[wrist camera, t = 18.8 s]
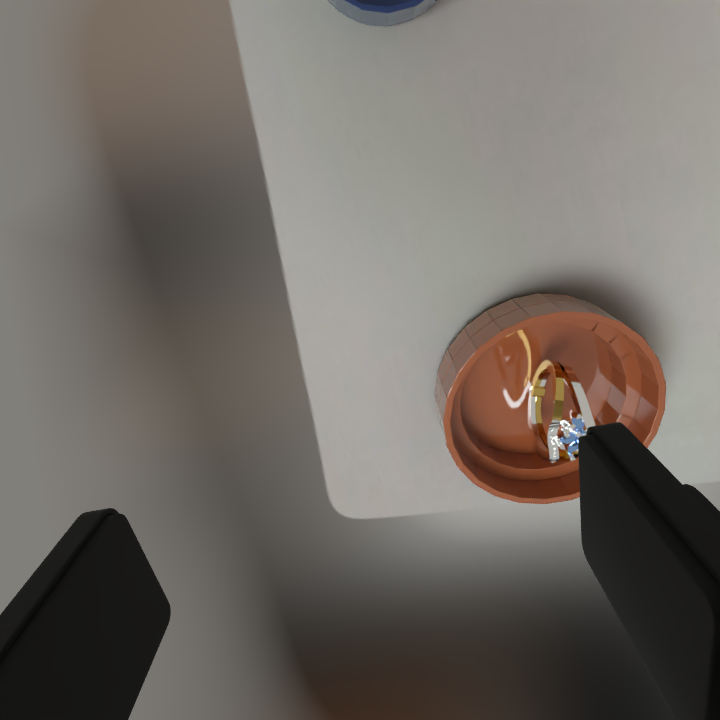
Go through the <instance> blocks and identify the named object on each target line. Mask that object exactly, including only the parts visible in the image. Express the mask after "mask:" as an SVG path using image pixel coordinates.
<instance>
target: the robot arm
mask: <svg viewBox="0 0 720 720" xmlns="http://www.w3.org/2000/svg"><path fill="white" fill-rule="evenodd" d="M578 458H579V484H580V510H581V532H582V533H581V535H582V546H583V550H584V554H585V556H586V559H587V561H588V563H589V565H590V567H591V568H592V570H593V572H594V574H595V576H596V578H597V579H598V581H599V583H600V584H601V587H602V588H603V590H604V592H605V593H606V595H607V597H608V599H609V601H610V603H611V605H612V606H613V608H614V610H615V612H616V614H617V616H618V617H619V619H620V621H621V623H622V625H623V626H624V628H625V630H626V632H627V634H628V635H629V637H630V639H631V641H632V643H633V644H634V646H635V648H636V650H637V652H638V654H639V655H640V657H641V659H642V661H643V663H644V664H645V666H646V668H647V670H648V672H649V673H650V675H651V677H652V679H653V681H654V682H655V684H656V686H657V688H658V690H659V691H660V693H661V695H662V697H663V699H664V700H665V702H666V704H667V706H668V708H669V709H670V711H671V713H672V715H673V717H674V719H675V720H720V511H719V510H717V508H716V507H715V506H713V504H712V503H711V502H710V501H708V499H707V498H706V497H705V496H704V495H703V494H701V493H700V492H699V491H698V490H697V489H696V488H694V487H693V486H690V485H688V484H684V485H682V484H681V483H680V482H679V481H678V480H677V479H676V478H675V477H674V476H673V475H672V474H671V473H670V471H669V470H668V469H667V468H666V467H665V466H664V465H663V464H662V463H661V462H660V461H659V460H658V459H657V458H656V457H655V456H654V455H653V454H652V453H651V452H650V451H649V450H648V449H647V448H646V447H645V446H644V445H643V444H642V443H641V442H640V441H639V440H638V439H637V438H636V437H635V435H634V434H633V433H632V432H631V431H630V430H629V429H628V428H627V427H626V426H625V425H624V424H622V423H621V422H615V423H610V424H604V425H598V426H592V427H589V428H588V429H587V432H586V435H585V436H580V437H579V439H578ZM170 614H171V613H170V604H169V602H168V600H167V598H166V596H165V594H164V592H163V590H162V588H161V586H160V584H159V582H158V580H157V578H156V576H155V574H154V572H153V570H152V568H151V566H150V564H149V562H148V560H147V558H146V556H145V554H144V552H143V550H142V549H141V546H140V544H139V542H138V540H137V538H136V536H135V534H134V532H133V530H132V528H131V526H130V524H129V522H128V520H127V518H126V517H125V516H124V515H123V514H119V513H118V512H117V511H116V510H115V509H112V508H108V509H102V510H96V511H91V512H86V513H83V514H81V515H80V516H79V517H78V518H77V520H76V521H75V522H74V523H73V524H72V526H71V527H70V528H69V530H68V531H67V532H66V533H65V534H64V536H63V537H62V538H61V540H60V541H59V542H58V543H57V545H56V546H55V547H54V548H53V550H52V551H51V552H50V553H49V555H48V556H47V557H46V558H45V559H44V561H43V562H42V563H41V565H40V566H39V567H38V568H37V570H36V571H35V572H34V573H33V575H32V576H31V577H30V578H29V580H28V581H27V582H26V583H25V585H24V586H23V587H22V588H21V590H20V591H19V592H18V593H17V595H16V596H15V597H14V598H13V600H12V601H11V602H10V603H9V605H8V606H7V607H6V608H5V610H4V611H3V612H2V613H1V615H0V720H128V718H129V716H130V714H131V711H132V709H133V707H134V704H135V702H136V699H137V697H138V695H139V692H140V690H141V687H142V685H143V683H144V681H145V678H146V676H147V673H148V671H149V669H150V666H151V664H152V661H153V659H154V656H155V654H156V652H157V650H158V647H159V645H160V642H161V640H162V638H163V635H164V633H165V631H166V628H167V626H168V623H169V620H170Z"/></svg>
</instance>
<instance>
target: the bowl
mask: <svg viewBox="0 0 720 720" xmlns="http://www.w3.org/2000/svg"><path fill="white" fill-rule="evenodd" d="M545 360H551V361H560V362H564V363H566V364H568V365H569V366H570V367H571V368H572V370H573V371H574V373H575V374H576V376H577V378H578V380H579V382H580V384H581V386H582V388H583V391H584V393H585V395H586V398H587V401H588V404H589V407H590V410H591V413H592V416H593V419H594V422H595V426H598V425H604V424H610V423H615V422H621V423H622V424H624V425H625V426H626V427H627V428H628V429H629V430H630V431H631V432H632V433H633V434H634V435H635V437H636V438H637V439H638V440H639V441H640V442H641V443H642V444H643V445H644V446H645V447H646V448H648V446H649V445H650V443H651V442H652V440H653V439H654V437H655V436H656V434H657V431H658V428H659V425H660V423H661V420H662V417H663V414H664V411H665V397H666V382H665V379H664V375H663V372H662V368H661V365H660V361H659V359H658V357H657V356H656V354H655V353H654V352H653V350H652V349H651V347H650V346H649V345H648V343H647V342H646V340H645V339H644V338H643V337H642V336H640V335H639V334H638V333H636V332H635V331H633V330H632V329H631V328H629V327H628V326H626V325H625V324H624V323H622V322H621V321H619V320H618V319H616V318H614V317H613V316H611V315H610V314H608V313H607V312H605V311H603V310H602V309H600V308H599V307H597V306H596V305H594V304H592V303H590V302H587V301H584V300H581V299H578V298H575V297H572V296H569V295H561V294H543V293H541V294H539V293H538V294H533V295H528V296H523V297H518V298H513V299H510V300H508V301H506V302H504V303H502V304H499V305H497V306H495V307H493V308H491V309H489V310H487V311H485V312H484V313H482V314H481V315H480V316H478V317H477V318H476V319H475V320H473V321H472V322H471V323H470V324H468V325H467V326H466V327H465V329H463V330H462V331H461V332H460V334H459V335H458V336H457V338H456V339H455V340H454V341H453V343H452V344H451V345H450V347H449V348H448V349H447V351H446V354H445V356H444V358H443V360H442V363H441V365H440V367H439V370H438V374H437V381H436V389H435V399H436V405H437V411H438V417H439V420H440V424H441V427H442V431H443V434H444V438H445V441H446V445H447V448H448V450H449V451H450V453H451V455H452V457H453V459H454V461H455V463H456V465H457V467H458V468H459V469H460V470H461V471H462V472H463V473H464V474H465V475H466V476H467V477H468V478H469V479H470V480H471V481H472V483H474V484H475V485H477V486H478V487H480V488H482V489H484V490H485V491H487V492H489V493H491V494H492V495H494V496H497V497H500V498H504V499H507V500H511V501H514V502H518V503H533V504H534V503H535V504H549V503H555V502H562V501H568V500H573V499H576V498H578V497H580V484H579V458H578V457H577V458H575V459H576V460H573V461H558V462H556V463H552V462H545V461H543V460H542V459H541V458H540V457H539V455H538V454H537V452H536V451H535V448H534V446H533V443H532V440H531V436H530V431H529V424H528V399H529V391H528V390H529V385H530V383H532V381H533V378H534V375H535V373H536V371H537V369H538V367H539V366H540V364H541V363H542V362H543V361H545ZM544 387H545V394H544V397H542V399H541V419H542V424H543V428H544V431H545V433H546V436H547V437H548V429H549V426H550V424H551V422H552V417H553V411H554V406H553V386H552V378H551V374H550V375H549V377H548V379H547V381H546V383H545V386H544ZM571 410H573V411H575V412H576V413H577V410H576V407H575V405H574V402H573V399H572V397H571V394H570V392H569V390H568V388H567V385H566V383H565V381H564V402H563V411H562V418H563V419H564V420H565V419H566V418H567V419H569V420H570V411H571ZM560 427H561V425H559V428H560ZM559 428H558V432H557V436H558V435H559V434H560V433H561V432H560V431H559ZM564 446H565V444H564ZM558 449H560V448H559V446H558Z"/></svg>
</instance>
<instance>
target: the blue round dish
mask: <svg viewBox="0 0 720 720" xmlns="http://www.w3.org/2000/svg"><path fill="white" fill-rule="evenodd" d="M328 1H329V3H330V4H332V5H333V6H334V7H335V8H336V9H337V10H338V11H339V12H341V13H343V14H344V15H346V16H347V17H349V18H351V19H353V20H355V21H357V22H360V23H364V24H367V25H374V26H390V25H396V24H400V23H403V22H406V21H409V20H412V19H413V18H415V17H417V16H419V15H420V14H421V13H423V12H424V11H426V10H427V9H428V8H430V7H431V6H433V4H435V2H436V1H437V0H328Z"/></svg>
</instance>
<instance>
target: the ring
mask: <svg viewBox="0 0 720 720" xmlns="http://www.w3.org/2000/svg"><path fill="white" fill-rule="evenodd" d="M550 374H551V378H552V386H553V406H554V411H553V417H552V422H551V424H550V426H549V429H548V437H547V436H546V433H545V431H544V428H543V424H542V419H541V399H542V397H544V394H545V387H544V386H545V383H546V381H547V379H548V377H549V375H550ZM564 381H565V383H566V385H567V388H568V390H569V392H570V394H571V397H572V399H573V402H574V405H575V407H576V410H577V413H576V412H575V411H573V410H571V411H570V420H569V419H567V418H566V419H565V420H564V419H563V418H562V411H563V402H564ZM528 391H529V399H528V424H529V431H530V436H531V440H532V443H533V446H534V448H535V451H536V452H537V454H538V455H539V457H540V458H541V459H542V460H543V461H545V462H552V463H556V462H558V461H573V460H576V459H575V458H577V457H578V439H579V437H580V436H585V435H586V432H587V429H588V428H589V427H592V426H595V422H594V419H593V416H592V413H591V410H590V407H589V404H588V401H587V398H586V395H585V393H584V391H583V388H582V386H581V384H580V382H579V380H578V378H577V376H576V374H575V373H574V371H573V370H572V368H571V367H570V366H569V365H568V364H566V363H564V362H560V361H551V360H545V361H543V362H542V363H541V364H540V366H539V367H538V369H537V371H536V373H535V375H534V378H533V381H532V383H530V385H529V390H528ZM559 425H561V427H560V428H559ZM558 428H559V431H560V432H561V433H560V434H559V435H558V436H557V432H558ZM564 444H565V446H564ZM558 446H559V448H560V449H558Z"/></svg>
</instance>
